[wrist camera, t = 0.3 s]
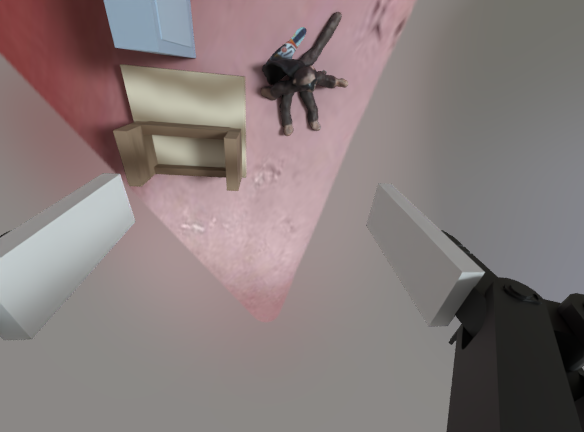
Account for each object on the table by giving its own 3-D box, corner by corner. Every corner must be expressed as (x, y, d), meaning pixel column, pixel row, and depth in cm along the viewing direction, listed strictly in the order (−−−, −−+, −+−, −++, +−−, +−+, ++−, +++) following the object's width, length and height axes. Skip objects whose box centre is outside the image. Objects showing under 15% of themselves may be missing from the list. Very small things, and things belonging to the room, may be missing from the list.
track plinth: (126, 64, 30) (87, 63, 24) (245, 76, 32) (239, 78, 26) (150, 169, 37) (126, 189, 31) (246, 174, 39) (241, 194, 33)
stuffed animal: (261, 136, 35) (256, 53, 24) (263, 90, 39) (259, 1, 28) (339, 138, 36) (367, 59, 25) (332, 93, 40) (354, 8, 29)
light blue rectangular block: (153, -33, 26) (77, -100, 16) (188, -28, 26) (136, -89, 16) (166, 55, 30) (113, 47, 20) (196, 58, 30) (160, 52, 20)
